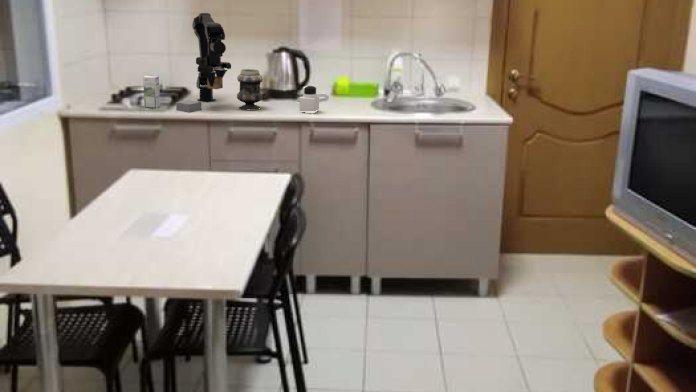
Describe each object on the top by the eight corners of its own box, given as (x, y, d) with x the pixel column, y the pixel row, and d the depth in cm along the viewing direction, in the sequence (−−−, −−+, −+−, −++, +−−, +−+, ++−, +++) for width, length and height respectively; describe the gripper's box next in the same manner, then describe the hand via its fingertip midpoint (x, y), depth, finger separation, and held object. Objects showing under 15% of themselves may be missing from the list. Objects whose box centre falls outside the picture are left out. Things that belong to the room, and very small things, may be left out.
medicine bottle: (319, 111, 348) (319, 86, 345) (313, 114, 342) (314, 88, 338) (305, 110, 351) (305, 84, 347) (299, 112, 344) (299, 86, 341)
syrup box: (160, 106, 347) (159, 75, 343) (156, 108, 342) (154, 76, 337) (148, 105, 348) (147, 74, 343) (144, 107, 342) (142, 76, 338)
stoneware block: (188, 108, 346) (188, 99, 345) (201, 110, 342) (201, 102, 341) (176, 110, 340) (176, 102, 338) (189, 113, 336) (189, 104, 334)
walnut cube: (213, 86, 349) (213, 76, 347) (222, 87, 347) (222, 77, 345) (207, 88, 345) (207, 77, 343) (216, 89, 342) (216, 78, 341)
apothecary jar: (268, 108, 350) (268, 70, 345) (248, 111, 342) (247, 72, 336) (251, 104, 358) (251, 67, 352) (231, 107, 349) (231, 69, 344)
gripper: (212, 48, 352) (212, 81, 357) (187, 52, 336) (188, 86, 341) (231, 50, 347) (232, 83, 352) (207, 54, 331) (208, 89, 336)
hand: (215, 85), depth 345 cm, fingers closed on walnut cube, 5 cm apart
